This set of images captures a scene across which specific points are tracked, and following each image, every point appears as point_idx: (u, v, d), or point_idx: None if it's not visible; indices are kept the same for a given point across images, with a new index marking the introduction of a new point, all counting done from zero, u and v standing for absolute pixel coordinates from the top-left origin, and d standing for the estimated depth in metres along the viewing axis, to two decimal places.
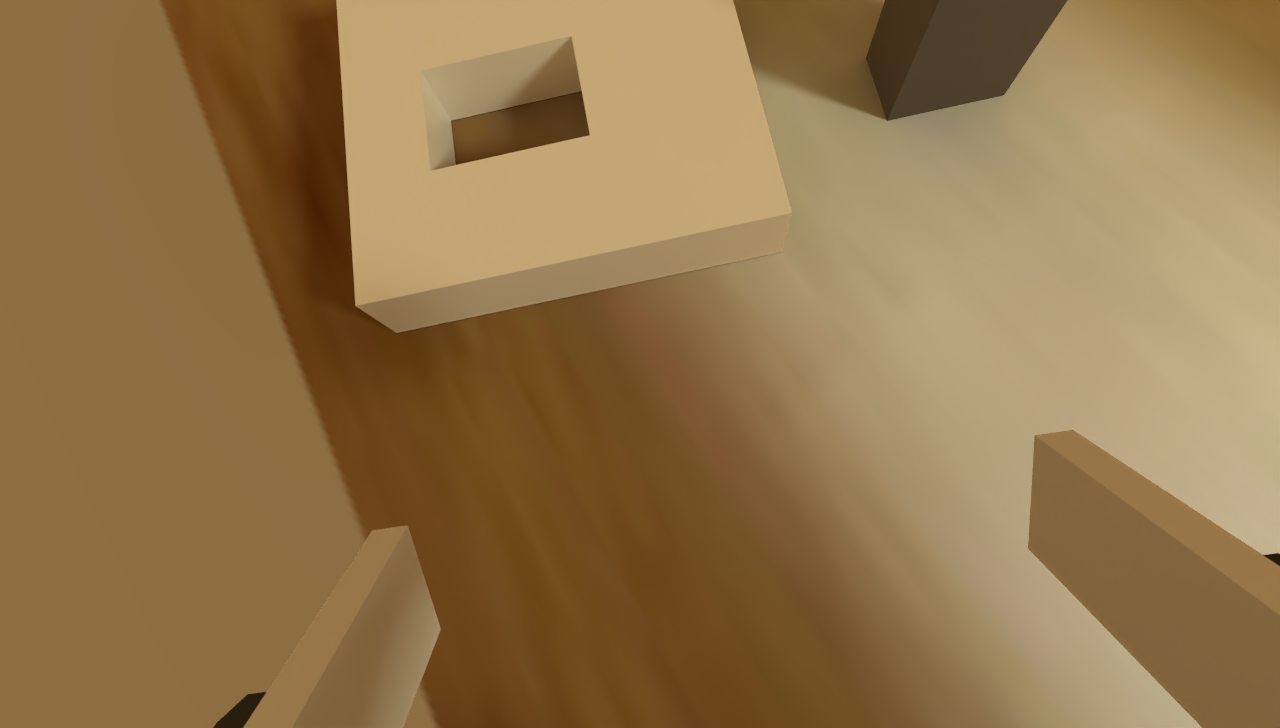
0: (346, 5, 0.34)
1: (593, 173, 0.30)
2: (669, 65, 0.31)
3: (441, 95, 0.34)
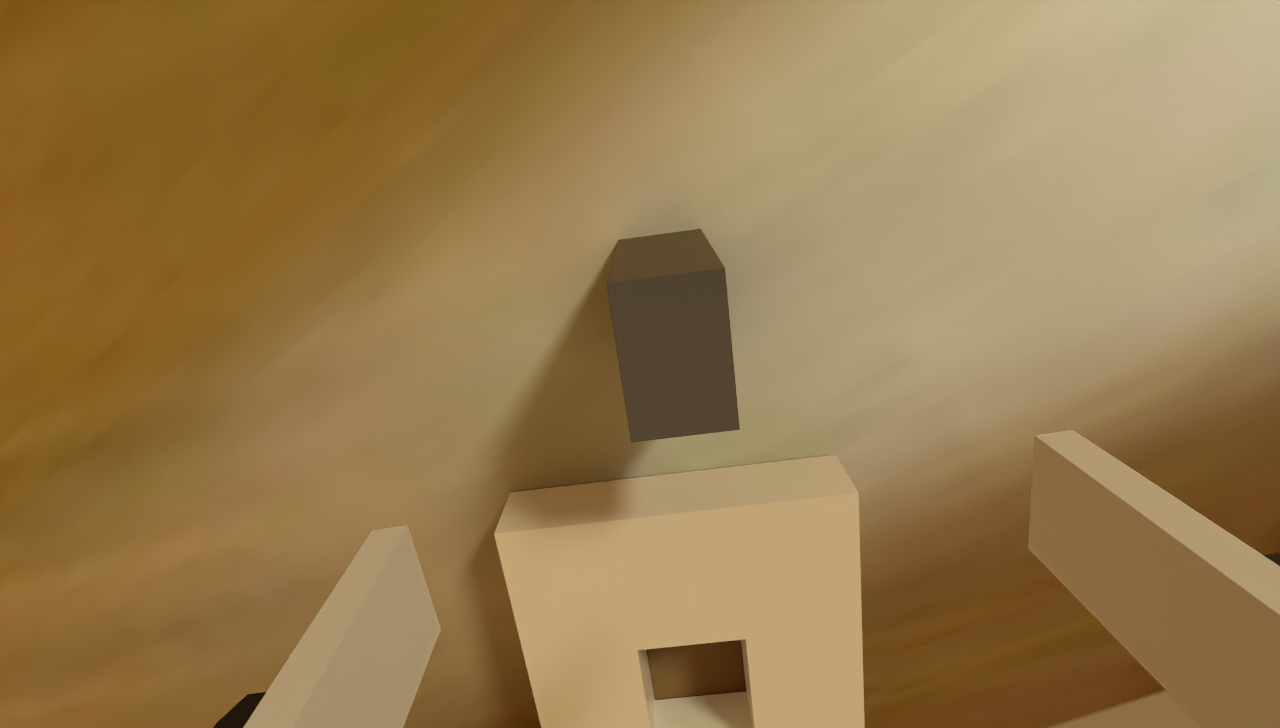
0: None
1: (784, 637, 0.34)
2: (683, 576, 0.33)
3: (654, 724, 0.39)
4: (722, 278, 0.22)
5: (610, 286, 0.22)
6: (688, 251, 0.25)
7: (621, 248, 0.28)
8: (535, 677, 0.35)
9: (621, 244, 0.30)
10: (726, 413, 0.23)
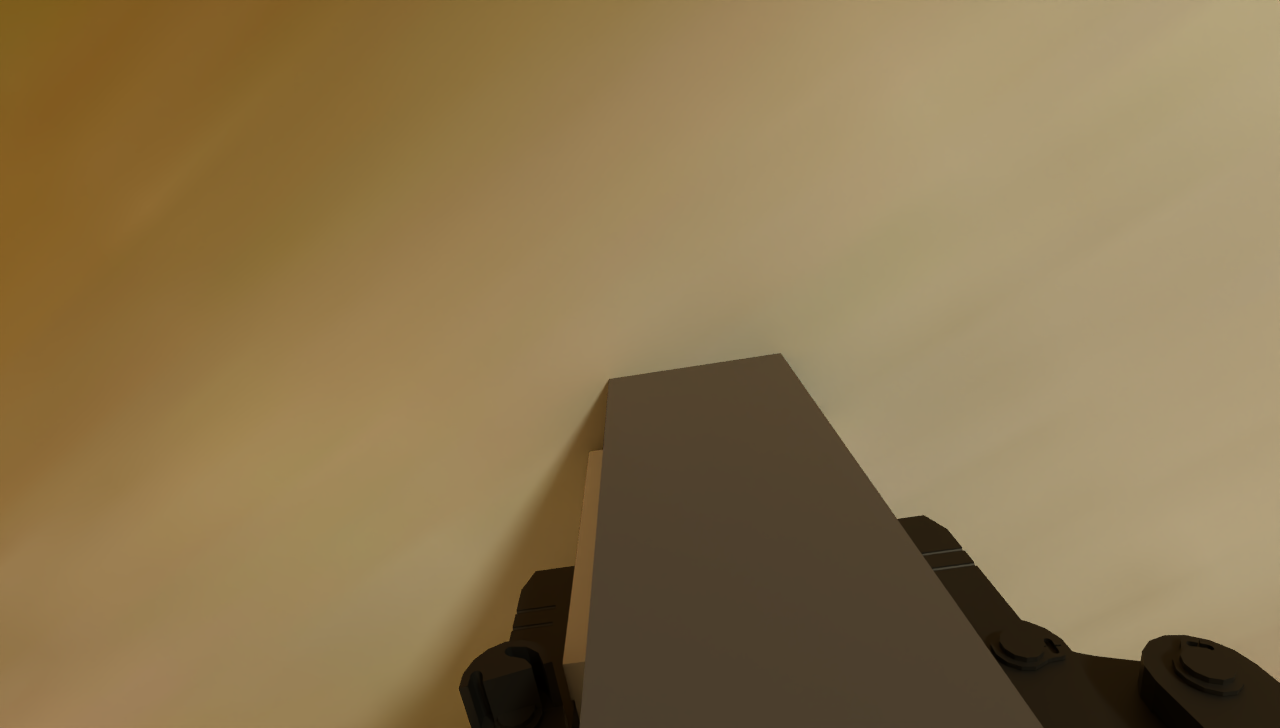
0: None
1: None
2: None
3: None
4: None
5: None
6: (805, 492, 0.09)
7: (617, 429, 0.12)
8: None
9: (616, 404, 0.13)
10: None
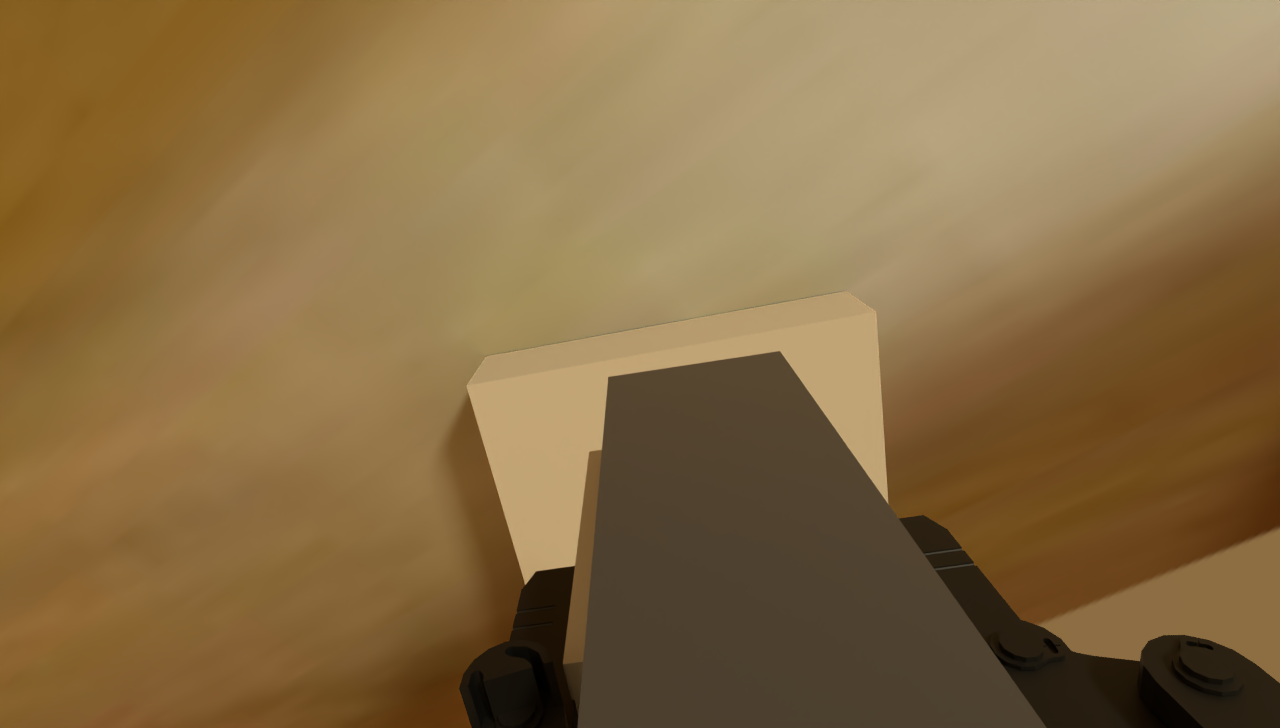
0: None
1: None
2: None
3: None
4: None
5: None
6: (804, 488, 0.09)
7: (616, 427, 0.12)
8: (524, 558, 0.31)
9: (615, 402, 0.13)
10: None
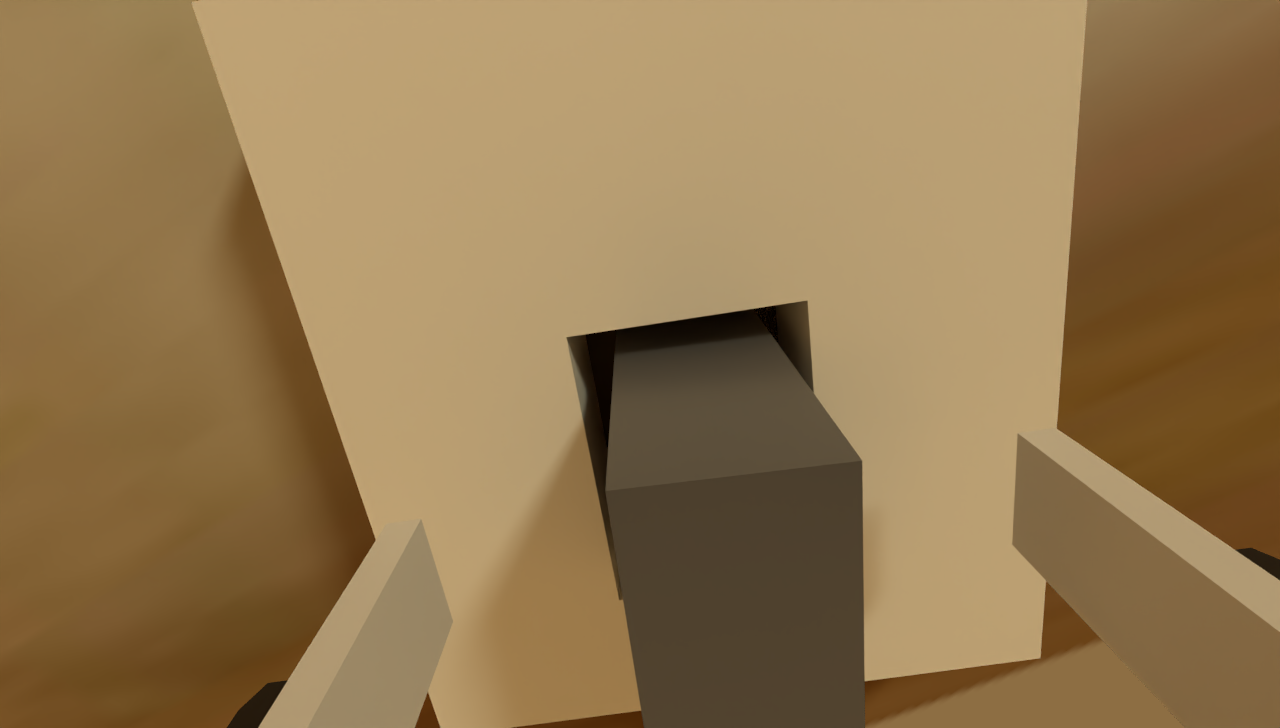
0: (469, 719, 0.19)
1: (894, 293, 0.15)
2: (662, 123, 0.14)
3: None
4: (855, 481, 0.10)
5: (613, 496, 0.10)
6: (751, 374, 0.14)
7: (624, 347, 0.17)
8: (347, 415, 0.16)
9: (623, 333, 0.18)
10: (842, 721, 0.12)
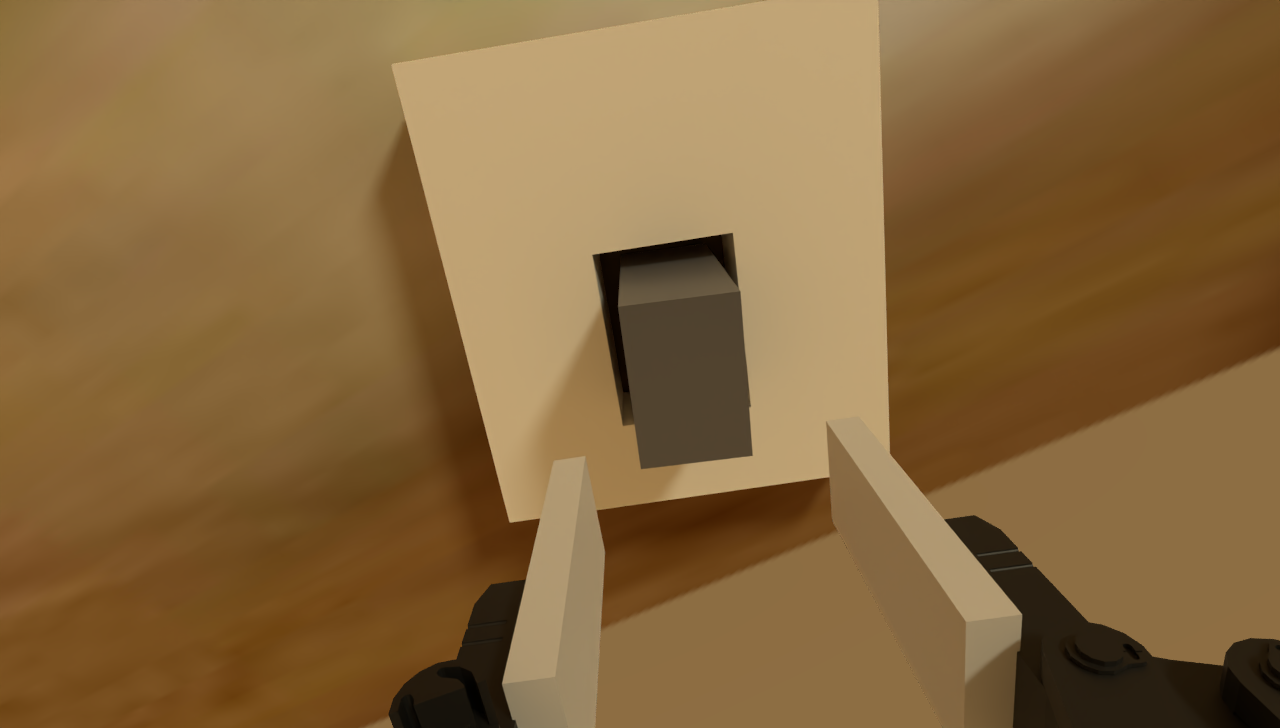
0: (526, 510, 0.30)
1: (783, 228, 0.26)
2: (647, 129, 0.25)
3: (622, 403, 0.31)
4: (738, 302, 0.21)
5: (621, 310, 0.21)
6: (697, 270, 0.25)
7: (626, 264, 0.28)
8: (461, 302, 0.27)
9: (625, 259, 0.29)
10: (739, 439, 0.22)
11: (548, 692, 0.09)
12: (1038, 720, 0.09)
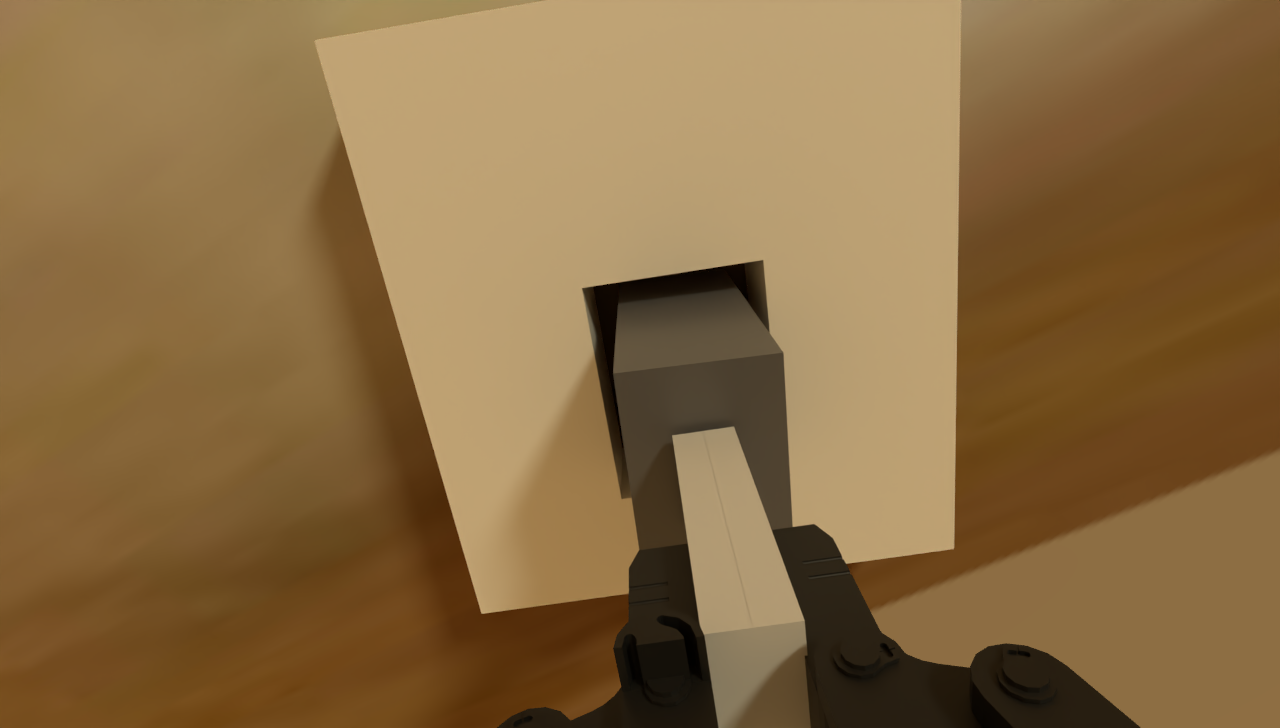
0: (502, 599, 0.24)
1: (828, 254, 0.20)
2: (653, 127, 0.19)
3: (620, 465, 0.25)
4: (779, 367, 0.15)
5: (618, 377, 0.15)
6: (719, 311, 0.19)
7: (625, 298, 0.22)
8: (414, 348, 0.21)
9: (624, 290, 0.23)
10: None
11: (744, 642, 0.09)
12: None
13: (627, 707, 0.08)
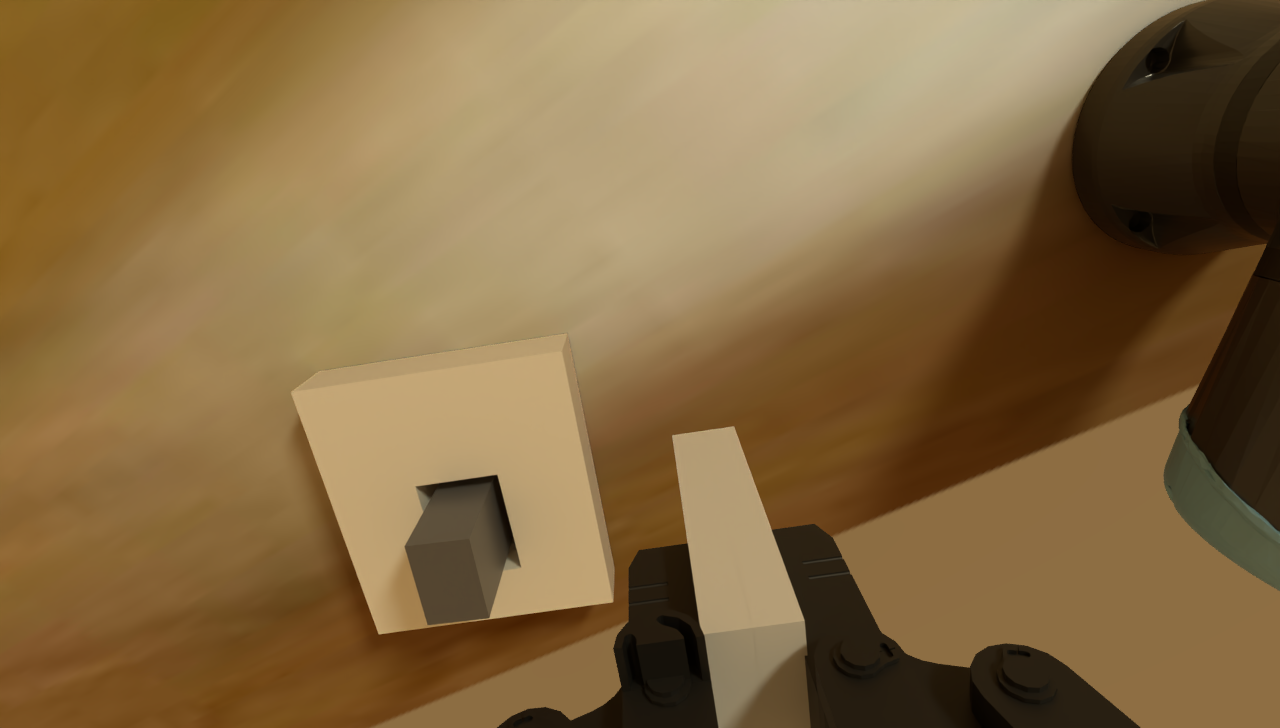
0: (388, 627, 0.48)
1: (527, 472, 0.44)
2: (440, 423, 0.43)
3: None
4: (468, 543, 0.39)
5: (406, 547, 0.39)
6: (469, 503, 0.43)
7: (441, 485, 0.46)
8: (339, 512, 0.45)
9: None
10: (480, 610, 0.41)
11: (744, 643, 0.09)
12: None
13: (627, 707, 0.08)
